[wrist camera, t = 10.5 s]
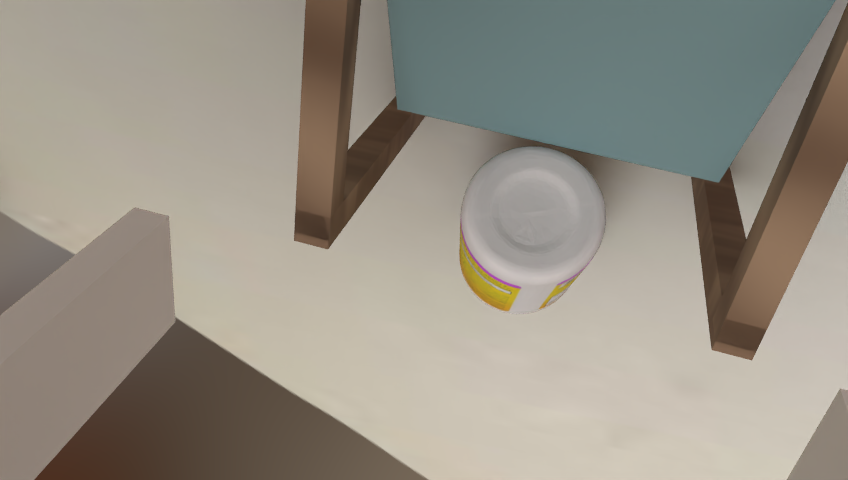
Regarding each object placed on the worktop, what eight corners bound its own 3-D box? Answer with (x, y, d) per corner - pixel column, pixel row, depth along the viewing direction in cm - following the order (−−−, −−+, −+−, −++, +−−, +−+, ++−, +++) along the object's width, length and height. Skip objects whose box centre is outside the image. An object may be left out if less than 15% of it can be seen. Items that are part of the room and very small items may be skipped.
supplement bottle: (451, 151, 34) (450, 225, 47) (473, 292, 33) (465, 330, 45) (595, 131, 34) (555, 211, 47) (624, 271, 33) (575, 315, 45)
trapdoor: (381, -187, 23) (371, -167, 23) (886, -102, 21) (885, -79, 21) (403, 92, 36) (397, 109, 35) (721, 164, 34) (718, 182, 33)
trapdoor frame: (445, -245, 35) (319, -280, 22) (859, -181, 32) (1009, -176, 19) (401, 110, 44) (293, 240, 31) (718, 183, 42) (751, 360, 28)
